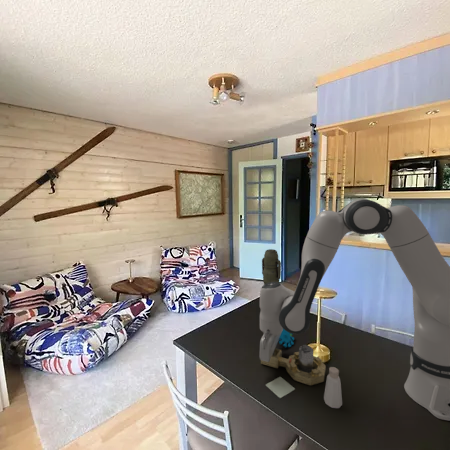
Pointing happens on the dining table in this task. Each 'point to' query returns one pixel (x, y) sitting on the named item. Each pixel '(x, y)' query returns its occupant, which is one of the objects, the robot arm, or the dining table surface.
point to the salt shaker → (333, 389)
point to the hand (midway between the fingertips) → (271, 357)
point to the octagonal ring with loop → (291, 368)
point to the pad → (280, 387)
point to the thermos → (271, 266)
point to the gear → (286, 338)
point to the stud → (305, 358)
